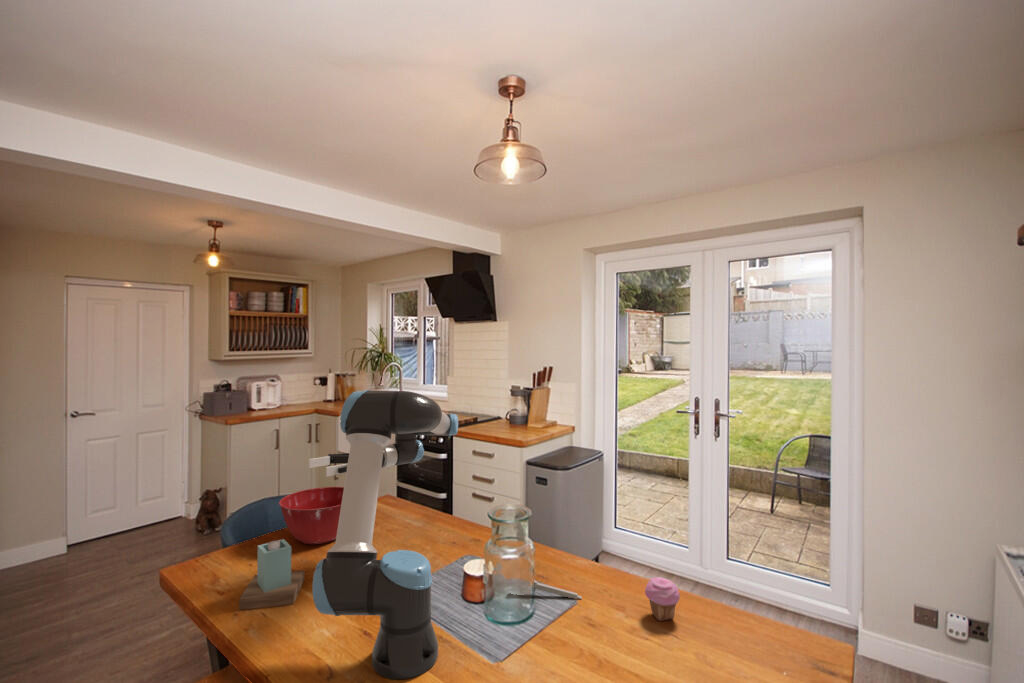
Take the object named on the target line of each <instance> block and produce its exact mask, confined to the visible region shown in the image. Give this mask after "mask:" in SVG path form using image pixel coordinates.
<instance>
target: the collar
mask: <svg viewBox="0 0 1024 683" xmlns="http://www.w3.org/2000/svg"><path fill="white" fill-rule="evenodd" d="M277 541H280V548H279V549H275V550H271V551H268V543H269V542H266V543H262V544H258V545H257V562H256V563H257V564H256V566H257V570H256V571H257V572H256V573H257V574H256V575H257V583H258V585H259V586H260V588H261V589H262V590H263V592H264V593H265V592H268V591H271V590H274V589H277V588H280V587H284V586H287V585H290V584H291V572H292V546H291V545H290V544H289V543H288V542H287V541H286V539H284V538H282V539H279V540H278V539H277Z"/></svg>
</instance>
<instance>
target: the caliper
mask: <svg viewBox="0 0 1024 683" xmlns="http://www.w3.org/2000/svg"><path fill="white" fill-rule="evenodd" d="M533 580H534V579H533ZM536 590H539V591H542V592H547V593H550V594H554V595H557V596H560V597H564V598H567V597H568V598H569V599H571V598H574V599H573V600H582V595H579V594H578V593H576V592H574V591H570V590H566V589H561V588H559V587H556V586H551V585H547V584H544V583H541V582H538V581H537V580H534V591H533V592H535V591H536Z"/></svg>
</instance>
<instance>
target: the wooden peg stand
mask: <svg viewBox="0 0 1024 683" xmlns="http://www.w3.org/2000/svg"><path fill="white" fill-rule="evenodd" d="M267 543H268V551H271V550H275V549H279V548H280V541H278V540H271V541H269V542H267ZM304 581H305V570H295V571H292V570H291V584H290V585H287V586H284V587H280V588H277V589H274V590H271V591H268V592H265V593H264V592H263V590H262V589H261V588H260V586H259V585H258V583H257V574H255V575H254V576H253V577H252V579H251V580H250V582H249V583H248V585H247V586H246V588H245V589H244V591H243V593H242V594H241V596H240V597H239V598H238V599H239V600H238V610H240V611H241V610H248V609H249V610H250V609H260V608H269V607H277V606H278V607H279V606H288V605H294V604H295V603H296V602H295V601H296V600H297V597H298V595H299V593H300V590H301V588H302V586H303V584H304Z"/></svg>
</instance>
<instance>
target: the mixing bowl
mask: <svg viewBox="0 0 1024 683" xmlns="http://www.w3.org/2000/svg"><path fill="white" fill-rule="evenodd" d="M343 491H344V486H325V487H315V488H314V487H313V488H309V489H303V490H299V491H296V492H293V493H290V494H288V495H286V496H283V498H281V499H280V500H279V501H278V505H279V506H280V509H281V513H282V515H283V519H284V522H285V524H286V526H287V528H288V530H289V532H290V533H291V535H292V536H293V537H294V538H295V539H296V540H297V541H299V542H301V543H303V544H305V545H322V544H328V543H329V542H333V541H336V536H337V529H338V523H339V516H340V510H341V503H342V497H343Z"/></svg>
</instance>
